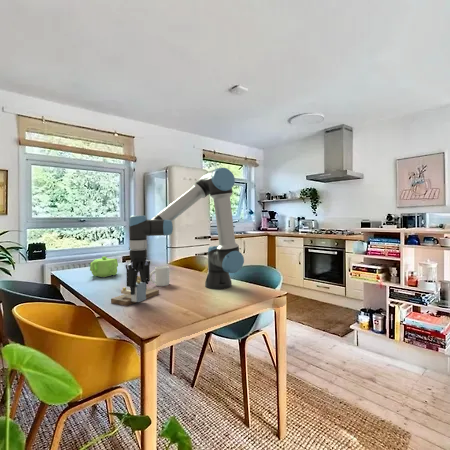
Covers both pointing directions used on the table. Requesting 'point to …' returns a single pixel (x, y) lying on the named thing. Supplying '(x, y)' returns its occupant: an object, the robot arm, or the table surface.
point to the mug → (161, 276)
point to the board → (126, 298)
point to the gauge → (140, 291)
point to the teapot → (104, 267)
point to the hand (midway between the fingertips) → (138, 299)
